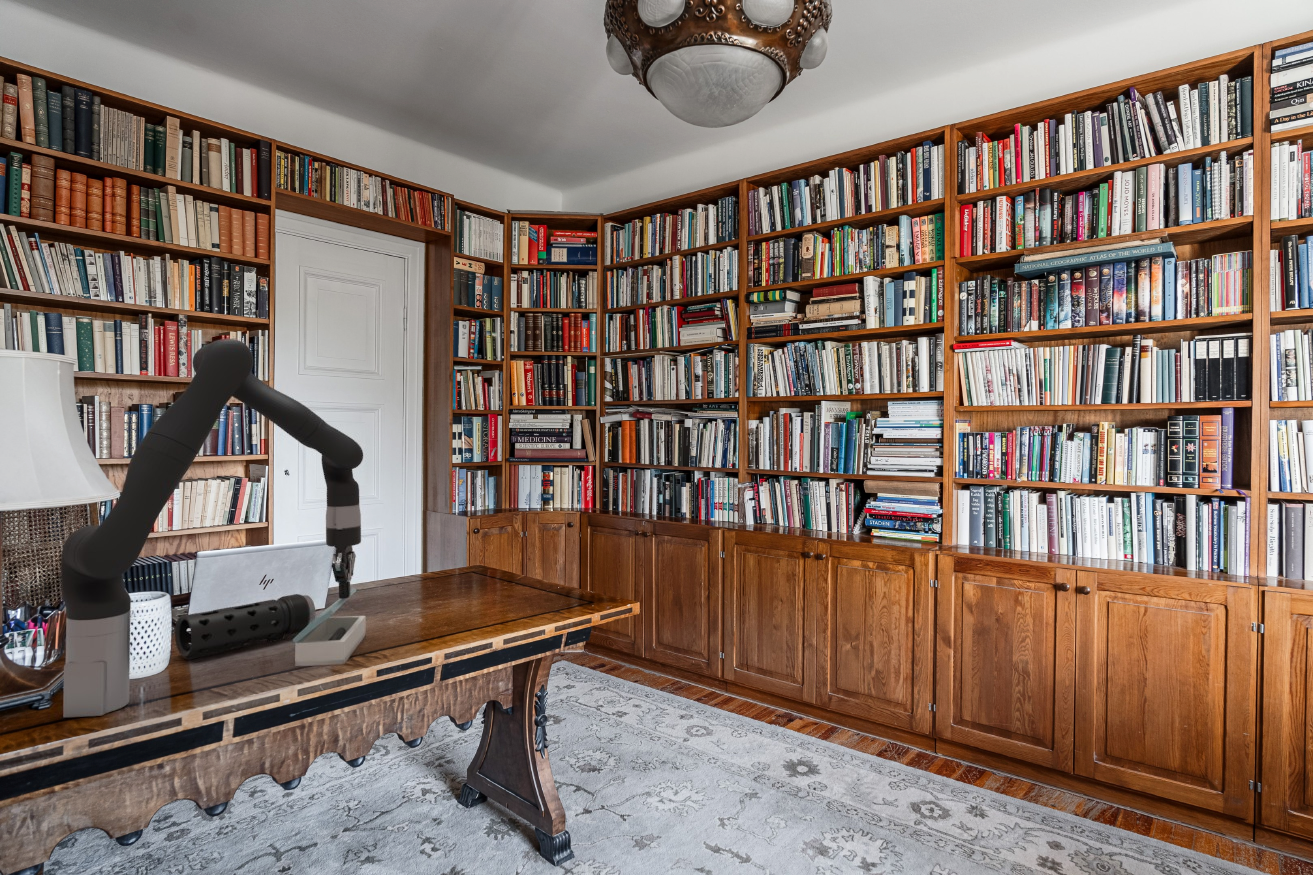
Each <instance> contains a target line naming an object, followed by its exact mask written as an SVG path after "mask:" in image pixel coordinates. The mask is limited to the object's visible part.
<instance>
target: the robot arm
mask: <svg viewBox="0 0 1313 875" xmlns="http://www.w3.org/2000/svg"><path fill="white" fill-rule="evenodd" d="M192 367H193V371H194V373H195V374H194V375H193V378H192V380H191V381H190V383H189V384H188V386H187V388H186V389H185V390H184V391H183V393H182V394H181V395H180V396H179V397H178V398H177V399H176V400H175V401H174V402H173V403H172V404H171V405H170V406H169V407H168V408H166V410H165V411H163V413H162V414H161V415H160V416H159V418H157V419H156V421H155V422H154V423H153V424H152V425H151V427H150V428H148V431H147V432H146V434H145V435H144V436H143V438H142V439H141V441H140V442H139V444H138V445H137V447H136V448H135V450H134V452H133V454H132V455H131V458H130V461H129V463H128V467H127V470H126V474H125V480H124V484H123V487H122V490H121V493H120V495H119V497H118V499H117V501H116V503H115V505H114V506H113V507H112V509H111V510H110V511H109V513H108V514H107V516H106V517H105V518H104V520H103V521H102V522H101V523H100V524H94V525H86V526H83V527H80V528H79V529H76V530H74V532H72V533H71V534H69V536H68V537H67V538H66V540H65V542H64V544H63V547H62V550H61V555H60V556H61V557H60V558H61V560H60V569H61V571H60V573H61V576H60V577H61V595H62V600H63V603H64V606H65V610H66V611H65V612H66V613H65V614H66V619H65V620H66V621H65V622H66V623H65V624H66V626H65V627H66V629H65V632H66V633H65V634H66V635H65V664H64V665H63V702H62V703H63V706H62V708H63V711H62V712H63V714H62V715H63V718H80V717H82V718H83V717H97V716H99V717H100V716H104V715H105V714H108V713H110V712H113V711H116V710H120V709H122V708H123V707H125V706H126V705H128V704H129V702H130V672H131V671H130V669H131V668H130V664H131V662H130V661H131V609H132V607H131V605H132V604H131V603H132V602H131V601H132V600H131V596H130V594H129V592H128V591H127V590H126V588H125V585H124V582H123V574H125V573H126V572H127V571H129V570H130V569H131V568H132V567H133V566H134V564H135V563H136V562H137V561H138V560H137V559H138V558H139V556H140V554H141V553H142V551H143V548H144V546H145V544H146V542H147V539H148V538H149V535H150V534H151V531H152V529H153V527H154V525H155V523H156V521H157V519H158V517H159V515H160V514H161V512H162V511H163V509H164V507H165V506H166V504H167V503H168V501H169V500H170V498H171V496H172V495H173V494H174V492H175V490H176V489H177V487H178V485H179V484H180V482H181V481H182V480H183V478H184V476H185V475H186V473H187V472H188V470H190V469H189V468H190V467H191V465H192V463H193V462H194V461H195V459H196V457H197V456H198V454H199V453H200V451H201V449H202V447H203V445H204V444H205V442H206V441H207V439H208V437H209V435H210V433H211V431H212V429H213V428H214V426H215V424H216V422H217V420H218V418H219V417H220V414H221V412H222V411H223V410H224V409H225V406H226V405H227V404H228V402H229V401H230V400H231V399H232V397H233V399H235V400H237V401H239V402H241V403H243V405H246V406H247V407H249V408H251V409H253V410H254V411H255V412H257V413H258V414H260V415H261V416H263V417H265V419H267V420H269V421H270V422H272V423H273V424H274V425H275V426H276V427H278V428H279V429H281V430H283V431H284V432H286V434H288V435H289V436H291V438H293V439H295V441H298V442H299V443H300V444H301V445H303V446H305V447H306V448H309V449H313V450H314V451H316V452H317V453H319V454H320V455H321V467H322V468H321V469H322V472H323V473H322V474H323V476H324V482H325V484H326V510H325V544H326V546H328V547H333V548H334V547H335V549H334V550H335V551H334V553H333V556H332V561H333V562H332V563H331V569H332V573H333V577H334V580H335V582H336V583H337V584H338V599H342V598H343V599H345V598H348V599H350V597H351V596H350V590H351V581H352V577H353V576H354V569H355V564H356V563H355V562H356V557H357V556H356V553H355V551H353V547H354V546H357V545H359V544H361V542H362V518H361V517H362V514H361V506H360V486H359V483H358V482H357V481H356V480H355V479H354V473H353V469H355V468H358V467H359V466H360V465H361V464H362V462H363V460H364V451H363V449H362V447H361V445H360V444H359V443H358V442H357V441H355V439H353V438H352V437H350V436H348V434H345V433H344V432H342V431H340V430H339V429H337V428H335V427H334V426H332V425H330V424H328V423H327V422H326V421H325V420H324V419H323V418H321V417H320V416H319V415H318V414H316V412H314V411H312V410H311V409H310V408H308V407H307V406H306V405H305V404H303V403H302V402H299V401H298V400H296V399H294V398H293V397H290V396H288V395H287V394H286V393H285V394H284V393H283V392H282V391H281V392H280V391H279V390H277V389H275V388H273V387H271V386H269V385H268V384H267V383H265V382H264V381H262V380H261V379H259V378H258V377H257V376H256V375H255V374H253V372H252V370H253V367H254V356H253V353H252V351H251V349H250V348H249V347H248V345H247V344H246V343H244V342H243V341H241V340H239V339H234V338H224V339H223V338H221V339H217V340H214V341H212V342H211V343H208V344H206V345H204V346H201V347H200V348H199V349H198V350H197V351H196V352H195V353H194V356H193V358H192ZM349 596H350V597H349Z"/></svg>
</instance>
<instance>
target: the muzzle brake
mask: <svg viewBox="0 0 1313 875" xmlns="http://www.w3.org/2000/svg"><path fill="white" fill-rule="evenodd" d="M315 618H316V607H315V604H314V601H313V599H312V597H311V596H310V595H307V594H304V595H303V594H299V593H298V594H297V593H296V594H290V595H284V596H281V597H279V598H277V599H268V600H263V601H257V602H252V603H247V604H242V605H236V606H229V607H224V608H219V609H218V608H217V609H214V610H208V611H203V612H202V611H201V612H196V613H190V614H189V613H188V614H184V615H181V616H179V617H178V618H177V620H176V623H175V629H174V639H175V645H176V649H177V650H178V653H179V654H180V655H181V656H182V657H183V658H184V659H185V660H188V661H189V660H192V659H196V658H197V659H198V658H202V657H206V656H210V655H214V654H220V653H223V652H228V651H232V649H236V648H244V646H245V645H248V644H249V645H250V644H252V643H257V642H262V641H266V642H268V641H269V643H271V642H270V641H272V642H275V641H274V640H276V641H279V640H280V639H281V640H283V639H284V637H285V636H289V635H290V636H291V635H294V634H299V633H300V632H301V631H302V630H303V629H305V628H306V627H307V626H308V625H309V624H310V623H311V622H312V621H313V620H314V619H315ZM188 629H190V632H188V631H187V630H188ZM281 640H280V641H281Z"/></svg>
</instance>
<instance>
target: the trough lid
mask: <svg viewBox="0 0 1313 875" xmlns="http://www.w3.org/2000/svg"><path fill="white" fill-rule="evenodd" d="M356 592H357V589H356V588H355V587H352V588H350V596H349V598H351V597H352V596H353V595H354V593H356ZM349 598H345V599H343V598H342V599H340V598H338V600H336V601H335V602H333V603H332V604H331V605H330V606H328V607H326V609H325V610H323V611H322V612H320V614H318V615H317V616H315V619H314V620H313V621H312V622H311V623H310V624H309V625H308V626H307V627H306V628H305V629H303V630H302V631H301V632H299V633H297V635H296V636H295V637H293V638H292V641H293V642H294V644H295V643H296V642H298V641H299V640H300V639H301V638H303V637H304V636H305V635H306V634H308V633H309V632H310V631H312V630H313V629H314V628H315V627H317V626H318V625H319V624H320V623H322V622H323V621H324V620H326V619H327V618H328V617H332V615H333V614H335V612H337V610H338V609H340V607H342V605H344V603H346V602H347V601H348V600H349Z"/></svg>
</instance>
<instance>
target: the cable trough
mask: <svg viewBox="0 0 1313 875" xmlns="http://www.w3.org/2000/svg"><path fill="white" fill-rule="evenodd" d="M366 618H367V617H366V615H352V616H351V615H350V616H349V615H348V616H347V615H346V616H329V617H328V618H327V619H326V620H324V621H323V622H322V623H320V624H319V625H318V626H317V627H315V628H314V629H313V630H312V631H310V632H309V633H308V634H306V635H305V636H304V637H303V638H301V639H300V640H299V641H298V642H296V643H295V642H294V644H295V645H294V646H295V648H294V649H295V650H294V651H295V652H294V659H295V660H294V666H295V667H310V666H311V667H312V666H313V667H314V666H333V665H334V666H335V665H345V664H346V663H347V661H348V660H349V658H350V657H351V656H352V654H353V653H354V651H355V650H356V649H357V647H358V646H359V645H360V644H361V642H362V641H363V639H364V638H365V637H366V629H367V628H366V622H367V621H366V620H367V619H366Z"/></svg>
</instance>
